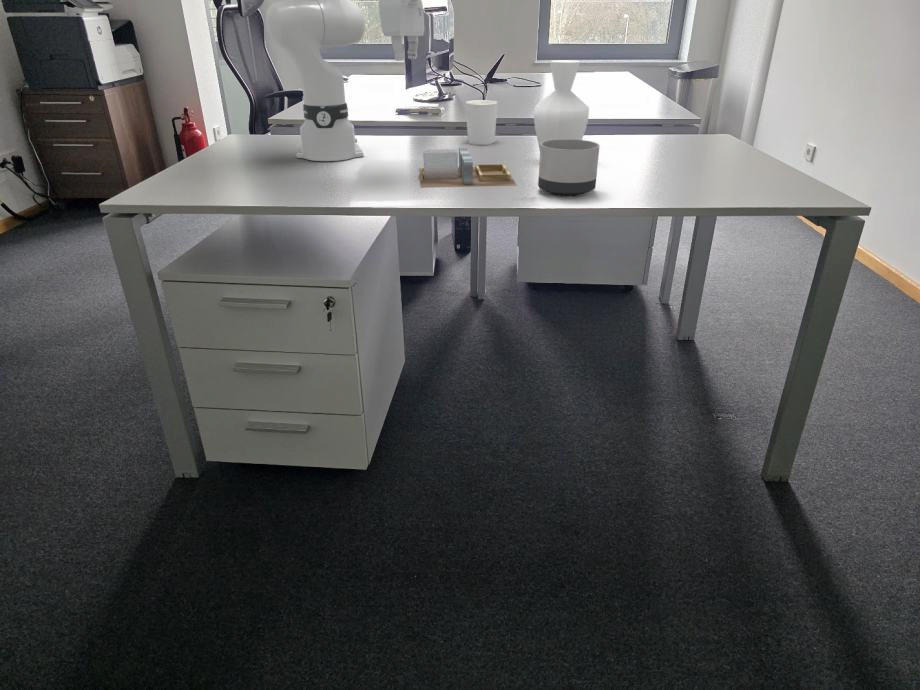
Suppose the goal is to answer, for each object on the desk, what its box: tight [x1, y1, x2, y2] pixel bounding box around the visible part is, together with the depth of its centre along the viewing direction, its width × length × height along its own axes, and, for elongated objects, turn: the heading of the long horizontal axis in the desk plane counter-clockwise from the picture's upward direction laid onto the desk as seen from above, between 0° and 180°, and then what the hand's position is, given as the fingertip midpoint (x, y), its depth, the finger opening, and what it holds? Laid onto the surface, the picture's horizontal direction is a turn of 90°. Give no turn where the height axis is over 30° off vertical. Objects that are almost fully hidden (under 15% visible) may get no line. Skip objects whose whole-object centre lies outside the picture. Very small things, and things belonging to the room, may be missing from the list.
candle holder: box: [465, 99, 499, 146], centre depth 190 cm, size 10×10×12 cm
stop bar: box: [422, 148, 459, 179], centre depth 146 cm, size 4×8×6 cm, turn 94°
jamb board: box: [419, 147, 518, 188], centre depth 147 cm, size 20×22×6 cm
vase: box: [533, 59, 590, 151], centre depth 162 cm, size 14×14×25 cm
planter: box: [537, 139, 601, 198], centre depth 137 cm, size 13×13×10 cm
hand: (406, 59), depth 135 cm, fingers open, 8 cm apart
